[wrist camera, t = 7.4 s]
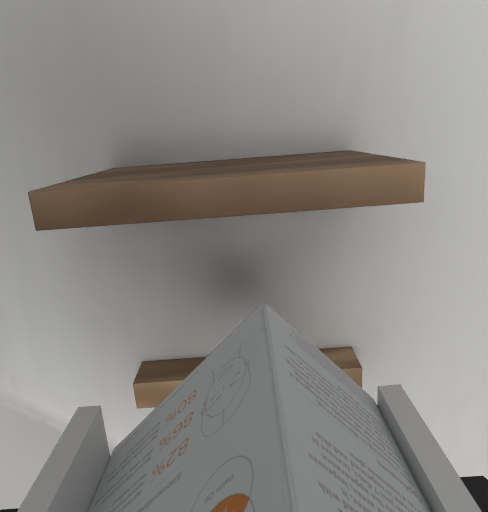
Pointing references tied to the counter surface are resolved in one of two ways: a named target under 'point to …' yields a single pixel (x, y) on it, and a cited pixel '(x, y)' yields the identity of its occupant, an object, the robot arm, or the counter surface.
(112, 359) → the counter surface
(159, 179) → the board
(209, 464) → the small box
